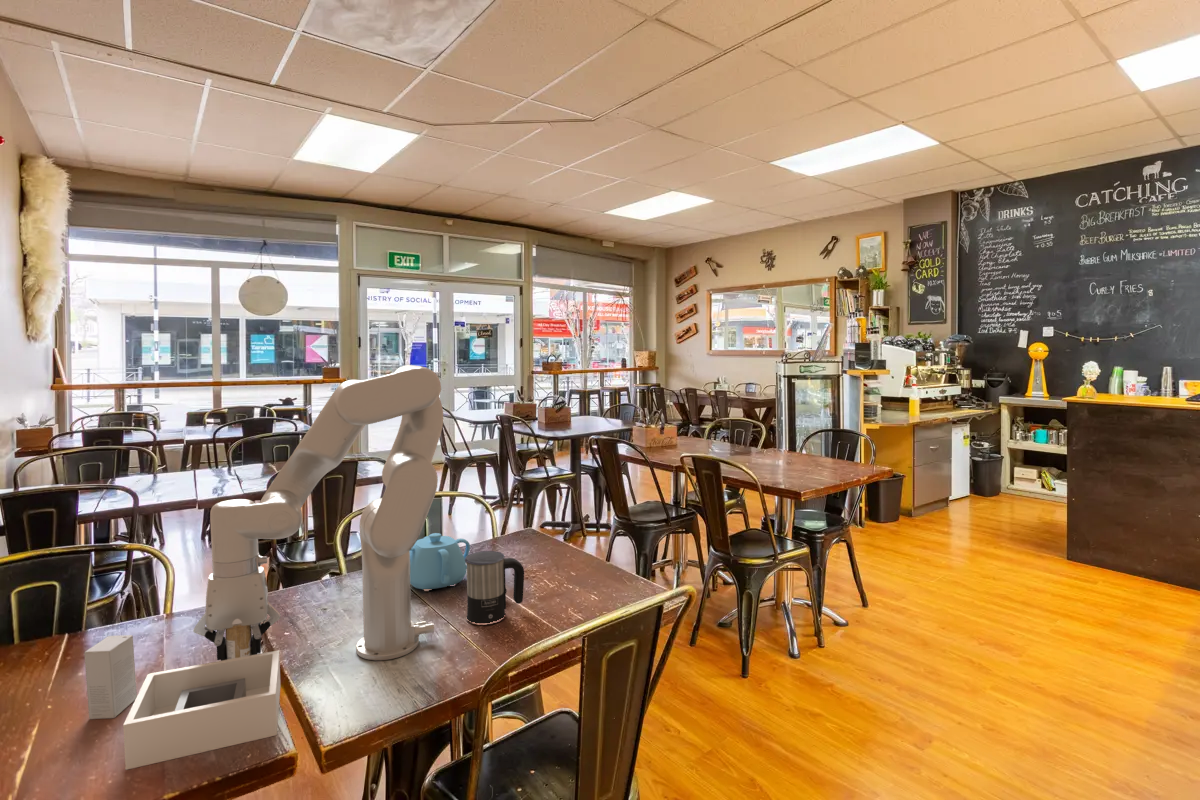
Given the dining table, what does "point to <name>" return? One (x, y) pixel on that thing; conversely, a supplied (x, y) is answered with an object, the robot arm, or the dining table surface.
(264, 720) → the divided box
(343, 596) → the dining table surface
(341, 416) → the robot arm
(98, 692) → the skincare box
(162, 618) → the dining table surface
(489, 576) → the milk frother
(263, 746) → the dining table surface
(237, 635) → the sprinkles bottle
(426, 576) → the decorative pot
